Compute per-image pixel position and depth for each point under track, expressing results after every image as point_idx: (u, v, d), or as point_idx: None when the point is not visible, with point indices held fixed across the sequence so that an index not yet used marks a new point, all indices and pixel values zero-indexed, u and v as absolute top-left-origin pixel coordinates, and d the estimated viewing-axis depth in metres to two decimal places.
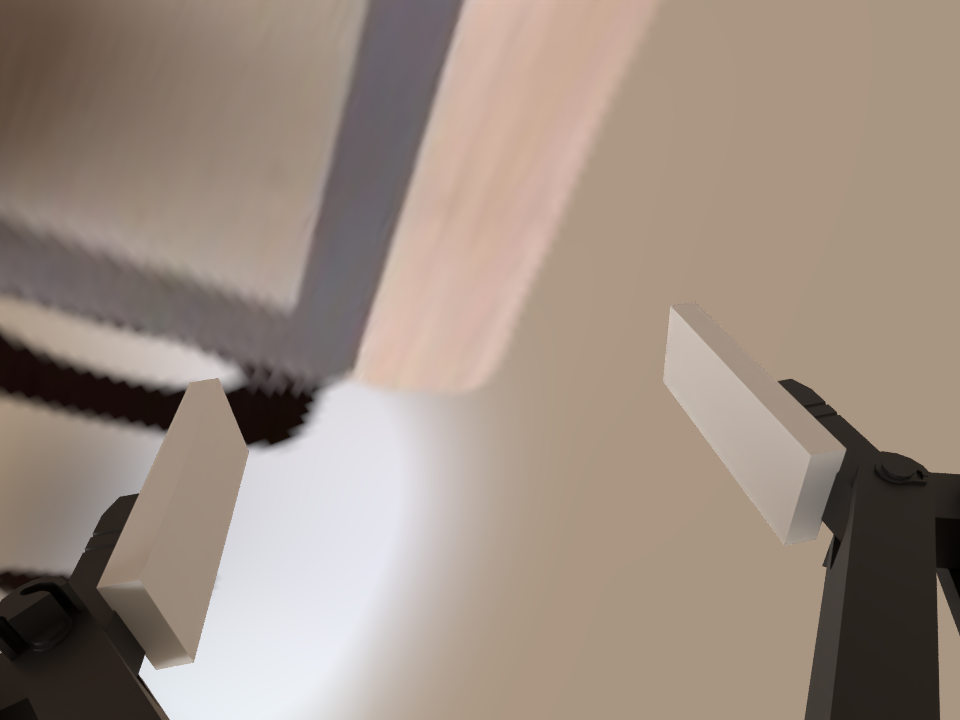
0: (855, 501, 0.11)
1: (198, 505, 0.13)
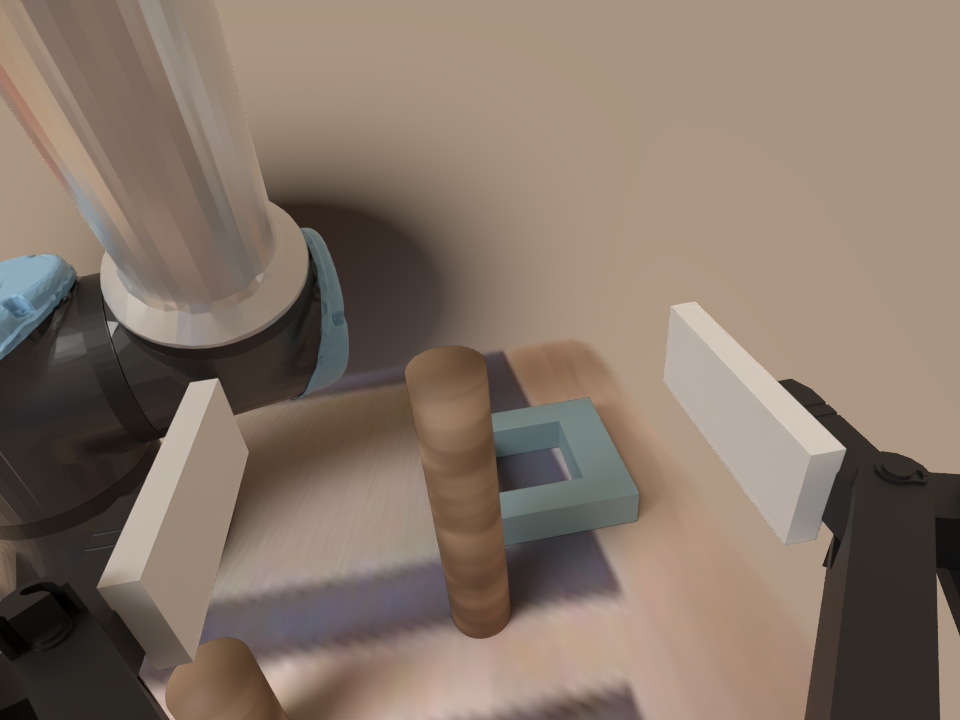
0: (855, 501, 0.11)
1: (198, 505, 0.13)
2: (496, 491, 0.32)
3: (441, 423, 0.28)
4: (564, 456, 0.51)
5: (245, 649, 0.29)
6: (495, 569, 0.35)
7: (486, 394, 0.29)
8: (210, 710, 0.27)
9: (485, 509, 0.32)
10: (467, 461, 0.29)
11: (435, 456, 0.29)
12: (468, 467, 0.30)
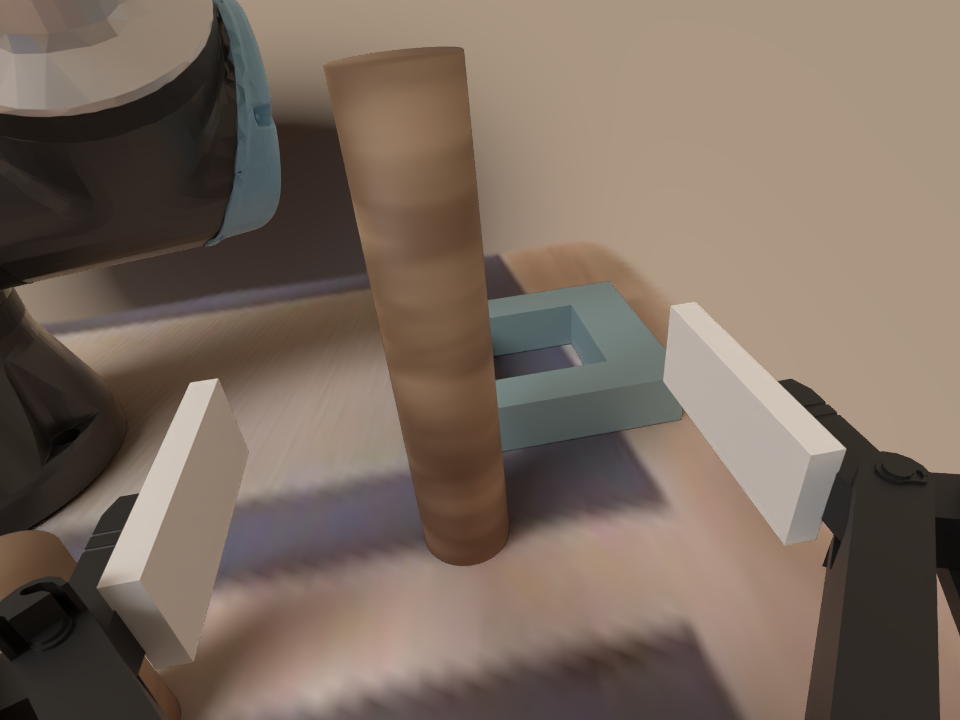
0: (855, 501, 0.11)
1: (198, 505, 0.13)
2: (484, 310, 0.20)
3: (386, 141, 0.16)
4: (578, 351, 0.39)
5: (55, 546, 0.17)
6: (485, 450, 0.23)
7: (465, 104, 0.17)
8: None
9: (467, 334, 0.20)
10: (433, 229, 0.17)
11: (379, 219, 0.17)
12: (436, 243, 0.18)
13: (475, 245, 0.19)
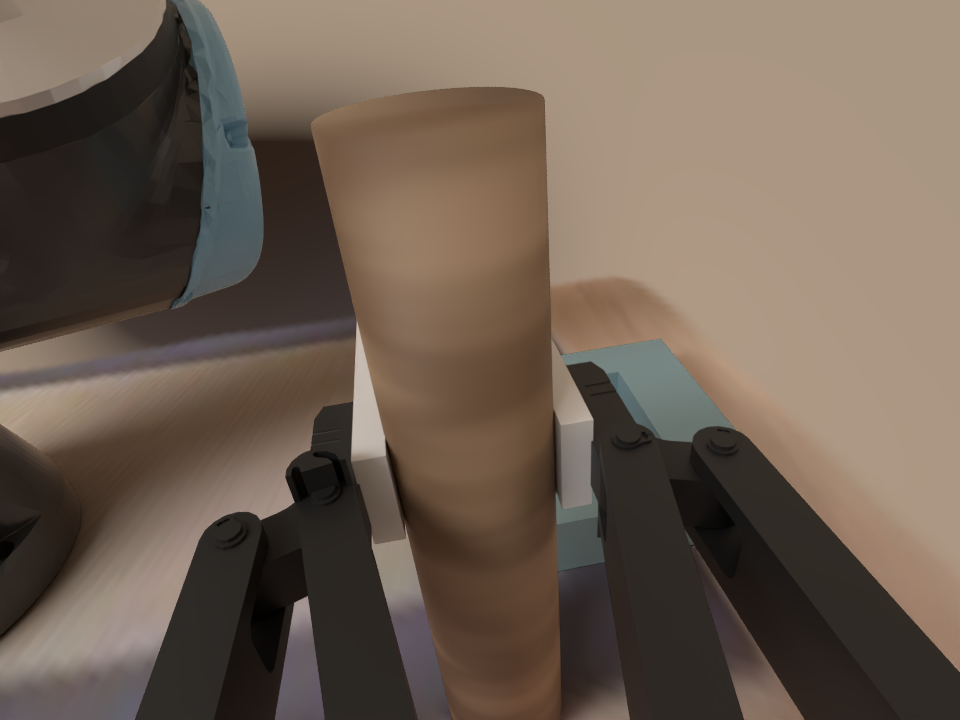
0: (607, 477, 0.12)
1: None
2: (552, 468, 0.14)
3: (416, 255, 0.09)
4: None
5: None
6: (542, 638, 0.16)
7: (544, 186, 0.10)
8: None
9: (529, 509, 0.13)
10: (489, 381, 0.11)
11: (402, 365, 0.11)
12: (492, 399, 0.11)
13: (546, 388, 0.12)
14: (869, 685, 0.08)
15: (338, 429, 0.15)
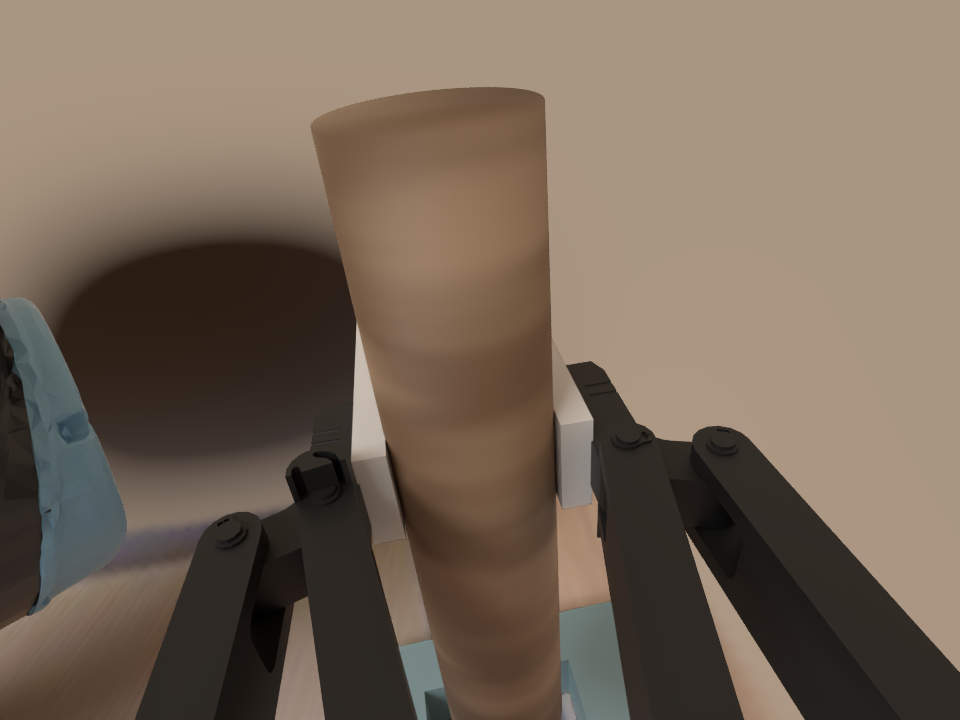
0: (607, 477, 0.12)
1: None
2: (552, 469, 0.14)
3: (416, 256, 0.09)
4: None
5: None
6: (542, 639, 0.16)
7: (544, 187, 0.10)
8: None
9: (529, 510, 0.13)
10: (489, 382, 0.11)
11: (402, 366, 0.11)
12: (492, 400, 0.11)
13: (546, 388, 0.12)
14: (869, 684, 0.08)
15: (338, 429, 0.15)
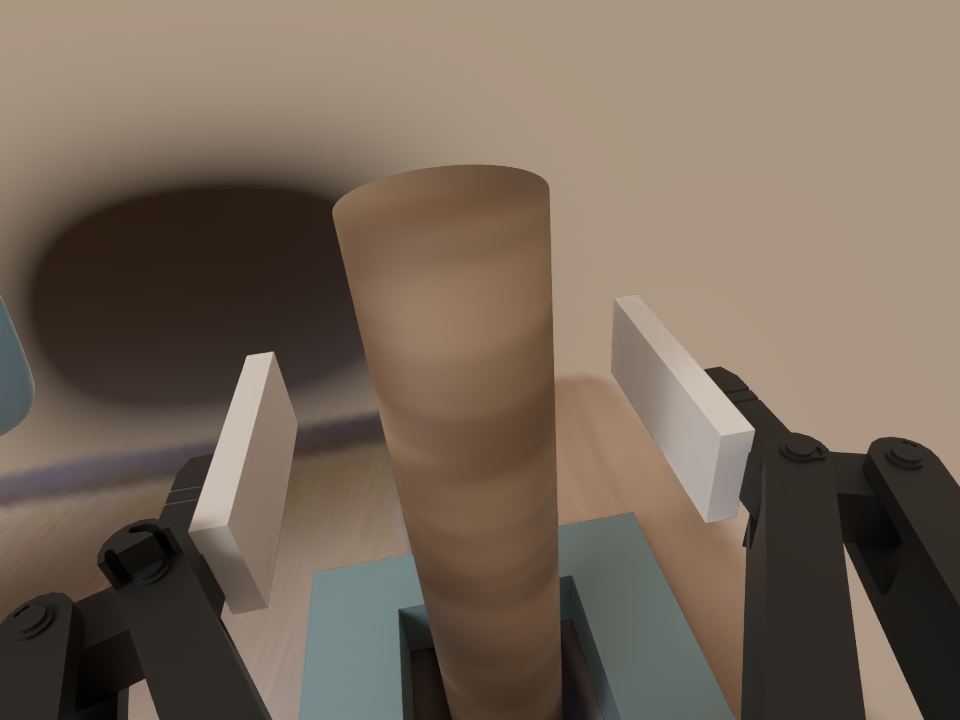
0: (766, 483, 0.11)
1: (264, 466, 0.14)
2: (554, 513, 0.15)
3: (430, 335, 0.10)
4: (584, 651, 0.24)
5: None
6: (545, 669, 0.17)
7: (548, 266, 0.11)
8: None
9: (532, 554, 0.14)
10: (496, 444, 0.12)
11: (415, 429, 0.12)
12: (499, 460, 0.12)
13: (549, 443, 0.13)
14: None
15: (199, 485, 0.13)
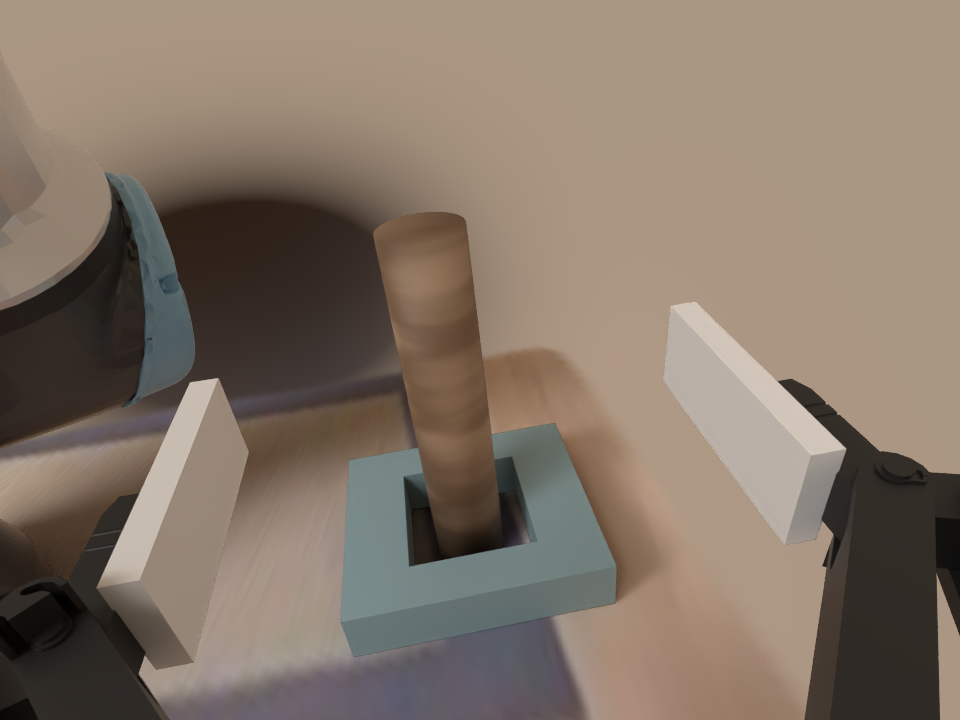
0: (855, 501, 0.11)
1: (198, 505, 0.13)
2: (482, 385, 0.29)
3: (415, 286, 0.24)
4: (520, 504, 0.37)
5: None
6: (484, 483, 0.31)
7: (466, 258, 0.25)
8: None
9: (470, 403, 0.28)
10: (446, 338, 0.26)
11: (410, 332, 0.26)
12: (448, 347, 0.26)
13: (475, 344, 0.27)
14: None
15: (123, 529, 0.12)
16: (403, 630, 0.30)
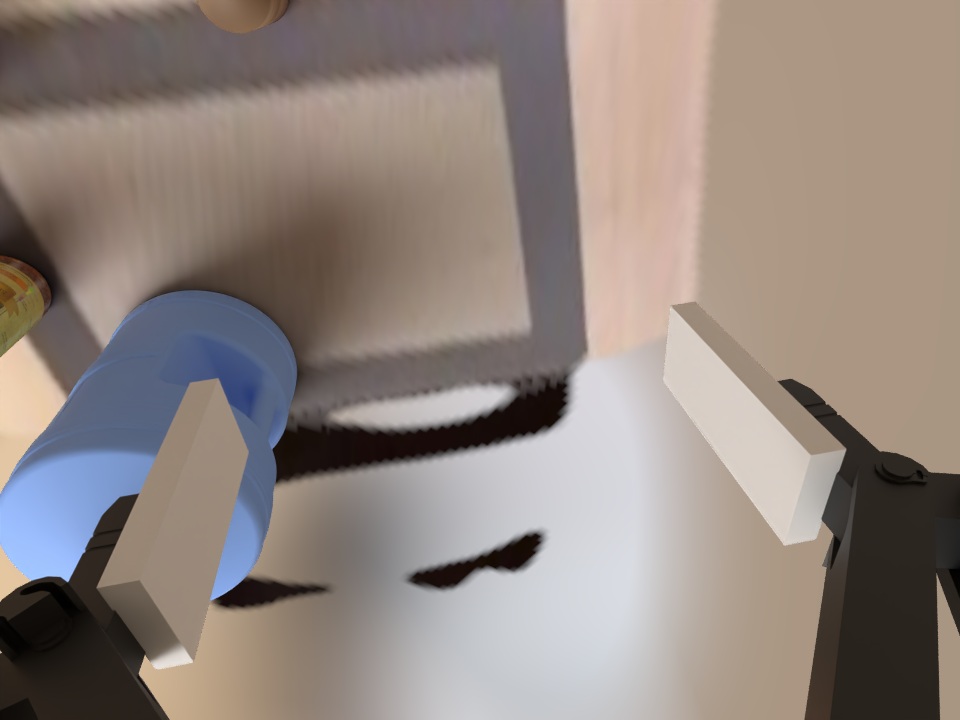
0: (855, 501, 0.11)
1: (198, 505, 0.13)
2: None
3: None
4: None
5: None
6: None
7: None
8: (248, 25, 0.33)
9: None
10: None
11: None
12: None
13: None
14: None
15: (123, 529, 0.12)
16: None
